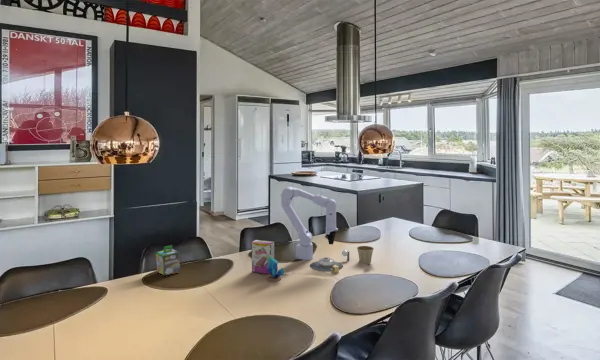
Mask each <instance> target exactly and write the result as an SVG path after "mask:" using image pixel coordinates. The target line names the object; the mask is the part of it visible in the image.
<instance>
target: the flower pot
mask: <svg viewBox="0 0 600 360" xmlns="http://www.w3.org/2000/svg"><path fill="white" fill-rule="evenodd" d="M374 249H375V247H373V246H369V245H360V246H357V247H356V250H357V253H358V260H359V263H362V264H367V265H371V263H372V256H373V252H374Z"/></svg>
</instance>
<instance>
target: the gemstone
mask: <svg viewBox="0 0 600 360" xmlns="http://www.w3.org/2000/svg"><path fill="white" fill-rule="evenodd" d="M278 264H279V261H278V260H277V259H275V258H274V259H273V258H272V257H269V260H268V266H267V271H268V272H269V273H270V274H269V275H268V276H266V280H267V281H269V282H279V281H281V280H282V275H284V267H282V268H280V269H279V268H278Z"/></svg>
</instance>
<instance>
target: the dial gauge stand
mask: <svg viewBox="0 0 600 360" xmlns="http://www.w3.org/2000/svg"><path fill="white" fill-rule="evenodd" d="M341 255H342V256H344V257H346V258H347V259H346V260H347V261H350V251H349V250H346V249H344V250H343V251H342V253H341Z"/></svg>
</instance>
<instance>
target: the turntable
mask: <svg viewBox="0 0 600 360" xmlns="http://www.w3.org/2000/svg"><path fill="white" fill-rule="evenodd" d="M309 268H310V269H312V270H314V271H318V272H323V273H325V272H326V273H327V272H332V273H334V274H339V273H340V270H341V269H343V268H344V264H343V263H341V262H338V261H335V260H334V266H332V268H321V267H320V266H319V260H317V261H313V262H311V263H310V264H309Z"/></svg>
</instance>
